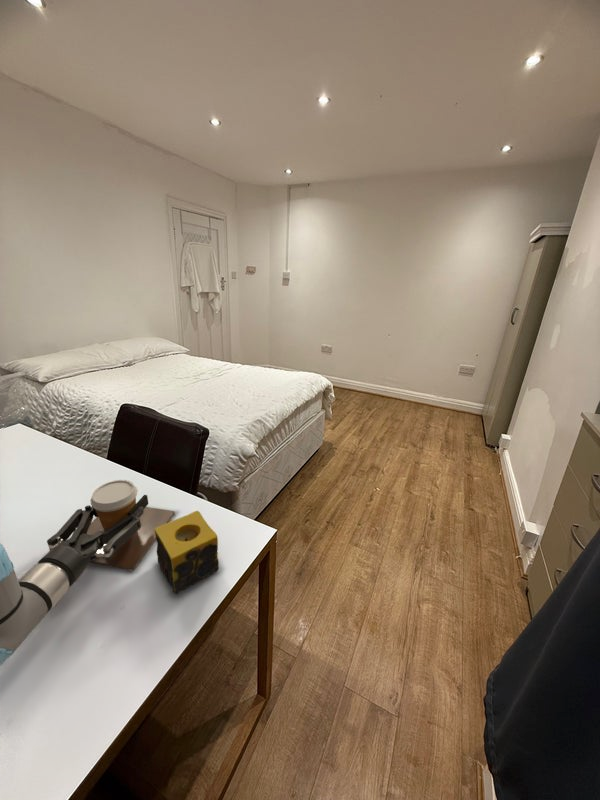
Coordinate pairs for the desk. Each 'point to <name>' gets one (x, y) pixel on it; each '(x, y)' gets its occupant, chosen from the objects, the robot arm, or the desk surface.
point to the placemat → (134, 539)
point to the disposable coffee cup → (113, 501)
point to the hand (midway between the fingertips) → (129, 497)
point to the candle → (186, 551)
